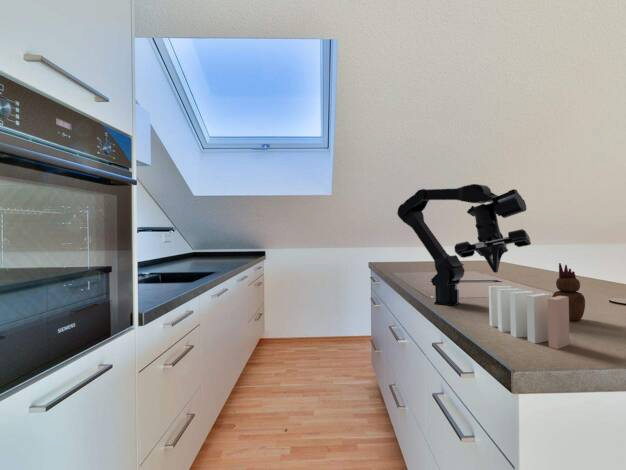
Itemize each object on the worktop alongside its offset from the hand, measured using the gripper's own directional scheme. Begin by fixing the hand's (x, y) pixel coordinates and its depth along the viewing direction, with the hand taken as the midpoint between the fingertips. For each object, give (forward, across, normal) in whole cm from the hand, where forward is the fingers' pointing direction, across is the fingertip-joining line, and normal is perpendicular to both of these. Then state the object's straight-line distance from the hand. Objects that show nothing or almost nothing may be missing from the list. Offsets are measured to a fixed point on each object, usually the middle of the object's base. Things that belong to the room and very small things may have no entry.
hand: (495, 272), depth 90 cm
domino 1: (+15, 0, +2) cm, 15 cm away
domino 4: (+20, -8, +8) cm, 23 cm away
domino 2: (+17, -2, +5) cm, 18 cm away
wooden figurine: (+11, -12, -14) cm, 21 cm away
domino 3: (+18, -5, +7) cm, 20 cm away
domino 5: (+21, -12, +9) cm, 26 cm away
